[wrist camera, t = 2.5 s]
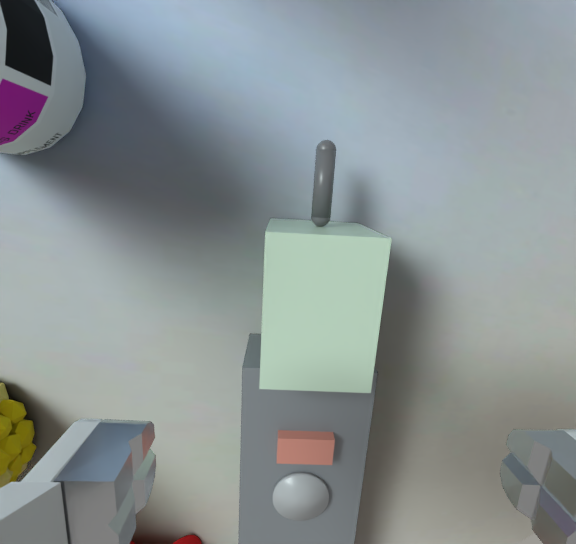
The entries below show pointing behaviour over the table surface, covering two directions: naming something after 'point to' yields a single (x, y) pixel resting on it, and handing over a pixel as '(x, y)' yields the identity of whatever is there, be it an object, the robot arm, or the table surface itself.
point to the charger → (321, 296)
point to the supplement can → (37, 76)
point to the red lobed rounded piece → (185, 540)
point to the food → (14, 438)
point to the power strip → (300, 460)
